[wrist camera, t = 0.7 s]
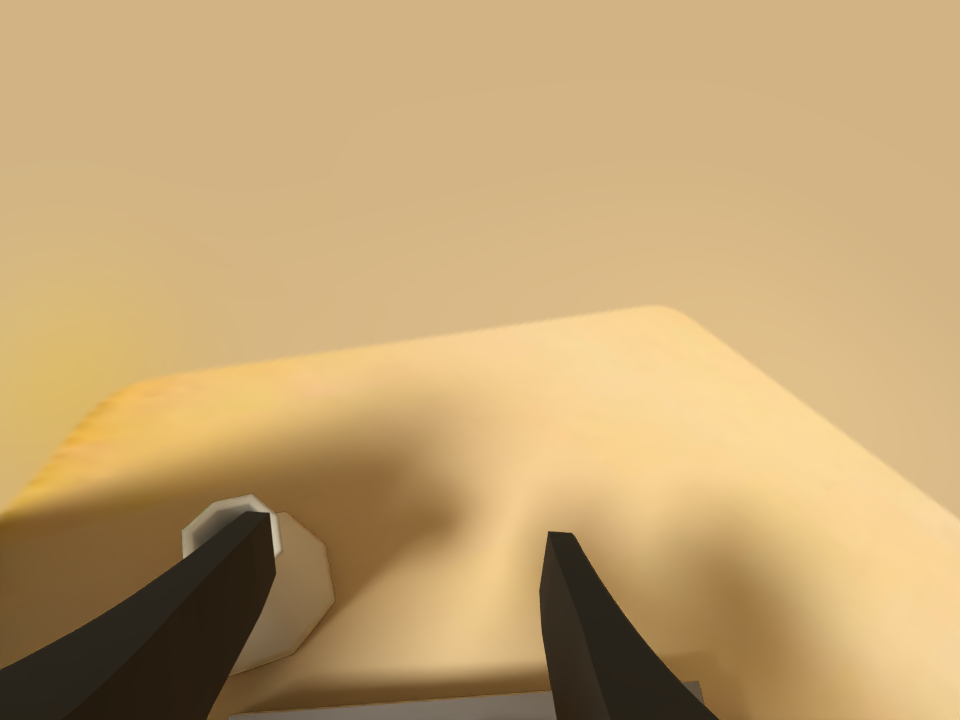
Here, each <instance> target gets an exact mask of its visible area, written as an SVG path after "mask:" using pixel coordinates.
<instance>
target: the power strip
mask: <svg viewBox="0 0 960 720" xmlns="http://www.w3.org/2000/svg"><path fill="white" fill-rule="evenodd" d="M681 683H682V684H683V685H684V686H685V687H686V688H687V689H688V690H689V691H690V692H691V693H692V694H693V695H694V696H695V697H696V698H697V699H698V700H699V701H700V702H701V703H702V704H703V705H704V701H703V697H702V692H701V688H700V684H699V681H683V682H681ZM704 706H705V705H704ZM228 720H557V718H556V713H555V707H554V701H553V695H552V690H548V691H534V692H520V693H506V694H493V695H479V696H465V697H452V698H438V699H424V700H411V701H397V702H383V703H370V704H356V705H342V706H329V707H315V708H301V709H288V710H274V711H260V712H246V713H236V714H233V715H230V716H228Z"/></svg>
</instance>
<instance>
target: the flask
mask: <svg viewBox="0 0 960 720" xmlns="http://www.w3.org/2000/svg"><path fill="white" fill-rule="evenodd" d="M245 511H254V512H269V513H270V519H271V529H272V538H273V547H274V556H275V566H276V576H275V579H274V582H273V584H272V587H271V590H270V592H269V595H268V598H267V600H266V603H265V605H264V608H263V610H262V613H261V615H260V617H259V619H258V621H257V623H256V625H255V626H254V628H253V630H252V632H251V634H250V636H249V638H248V640H247V642H246V644H245V646H244V648H243V649H242V651H241V653H240V655H239V657H238V659H237V661H236V663H235V664H234V666H233V668H232V670H231V672H230V674H229V676H228V677H230V676H233V675H236V674H238V673H241V672H244V671H247V670H250V669H253V668H256V667H258V666H261V665H264V664H267V663H270V662H273V661H276V660H279V659H281V658H284V657H287V656H290V655H293V654H294V653H295V651H296V650H297V649H298V648H299V646H300V645H301V644H302V643H303V641H304V640H305V639H306V638H307V636H308V635H309V634H310V632H311V631H312V630H313V629H314V627H315V626H316V625H317V624H318V622H319V621H320V620H321V619H322V617H323V616H324V615H325V614H326V612H327V611H328V610H329V608H330V607H331V606H332V605H333V603H334V602H335V596H334V590H333V584H332V579H331V573H330V568H329V562H328V556H327V551H326V545H325V544H324V543H323V542H321V541H320V540H319V539H318V538H317V537H315V536H314V535H313V534H312V533H311V532H309V531H308V530H307V529H306V528H305V527H303V526H302V525H301V524H300V523H299V522H297V521H296V520H295V519H294V518H293V517H291V516H290V515H289V514H288V513H287V512H281V513H275V512H274V511H273V510H272V509H270V508H269V507H268V506H267V505H266V504H264V503H263V502H262V501H261V500H260V499H258V498H257V497H256V496H255V495H254V494H247V495H243V496H238V497H234V498H229V499H225V500H220V501H216V502H213V503H212V504H211V505H209V506H208V507H207V508H206V509H205V510H204V511H203V512H202V513H201V514H200V515H199V516H197V517H196V518H195V519H194V520H193V521H192V522H191V523H190V524H189V525H188V526H187V527H185V528H184V529H183V530H182V550H183V559H184V558H186V557H187V556H188V555H190V554H191V553H192V552H194V551H195V550H196V549H198V548H199V547H200V546H201V545H203V544H204V543H205V542H207V541H208V540H209V539H211V538H212V537H213V536H214V535H216V534H217V533H218V532H219V531H221V530H222V529H223V528H225V527H226V526H227V525H228V524H230V523H231V522H232V521H234V520H235V519H236V518H237V517H239V516H240V515H241V514H243V513H244V512H245Z"/></svg>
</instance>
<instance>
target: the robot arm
mask: <svg viewBox="0 0 960 720" xmlns="http://www.w3.org/2000/svg"><path fill="white" fill-rule="evenodd" d="M275 576H276V566H275V556H274V547H273V538H272V529H271V519H270V513H269V512H254V511H245V512H244V513H243V514H241V515H240V516H239V517H237V518H236V519H235V520H234V521H232V522H231V523H230V524H228V525H227V526H226V527H225V528H223V529H222V530H221V531H219V532H218V533H217V534H216V535H214V536H213V537H212V538H211V539H209V540H208V541H207V542H205V543H204V544H203V545H201V546H200V547H199V548H198V549H196V550H195V551H194V552H192V553H191V554H190V555H188V556H187V557H186V558H184V559H183V560H182V561H180V562H179V563H178V564H176V565H175V566H174V567H172V568H171V569H169V570H168V571H167V572H165V573H164V574H162V575H161V576H159V577H158V578H157V579H155V580H154V581H152V582H151V583H149V584H148V585H147V586H145V587H144V588H142V589H141V590H139V591H138V592H137V593H135V594H134V595H132V596H131V597H129V598H128V599H126V600H125V601H123V602H122V603H120V604H118V605H117V606H115V607H114V608H112V609H111V610H109V611H107V612H106V613H104V614H102V615H101V616H99V617H97V618H96V619H94V620H92V621H91V622H89V623H87V624H86V625H84V626H82V627H81V628H79V629H77V630H75V631H74V632H72V633H70V634H68V635H66V636H64V637H62V638H61V639H59V640H57V641H55V642H53V643H51V644H49V645H48V646H46V647H44V648H42V649H40V650H38V651H36V652H35V653H33V654H31V655H29V656H27V657H25V658H23V659H21V660H19V661H17V662H15V663H13V664H11V665H9V666H7V667H5V668H3V669H1V670H0V720H206V719H207V716H208V714H209V712H210V710H211V708H212V706H213V704H214V702H215V700H216V698H217V697H218V695H219V693H220V691H221V689H222V687H223V685H224V683H225V681H226V680H227V678H228V676H229V674H230V672H231V670H232V668H233V666H234V664H235V663H236V661H237V659H238V657H239V655H240V653H241V651H242V649H243V648H244V646H245V644H246V642H247V640H248V638H249V636H250V634H251V632H252V630H253V628H254V626H255V625H256V623H257V621H258V619H259V617H260V615H261V613H262V610H263V608H264V605H265V603H266V600H267V598H268V595H269V592H270V590H271V587H272V584H273V582H274V579H275ZM539 594H540V612H541V627H542V636H543V642H544V648H545V654H546V660H547V666H548V672H549V678H550V683H551V689H552V695H553V701H554V707H555V713H556V718H557V720H719V719H718V718H717V717H716V716H715V715H714V714H713V713H712V712H711V711H710V710H709V709H708V708H707V707H706V706H704V705H703V704H702V703H701V702H700V701H699V700H698V699H697V698H696V697H695V696H694V695H693V694H692V693H691V692H690V691H689V690H688V689H687V688H686V687H685V686H684V685H683V684H682V683H681V682H680V681H679V680H678V678H677V677H676V676H675V675H674V674H673V673H672V672H671V671H670V670H669V669H668V668H667V667H666V665H665V664H664V663H663V662H662V661H661V660H660V659H659V657H658V656H657V655H656V654H655V653H654V652H653V650H652V649H651V648H650V647H649V646H648V644H647V643H646V642H645V641H644V639H643V638H642V637H641V636H640V634H639V633H638V632H637V631H636V629H635V628H634V627H633V625H632V624H631V623H630V621H629V620H628V619H627V617H626V616H625V615H624V613H623V612H622V611H621V609H620V608H619V606H618V605H617V604H616V602H615V601H614V599H613V598H612V596H611V595H610V593H609V592H608V590H607V589H606V587H605V586H604V584H603V583H602V581H601V580H600V578H599V577H598V575H597V573H596V572H595V570H594V568H593V567H592V565H591V564H590V562H589V560H588V559H587V557H586V555H585V553H584V552H583V550H582V548H581V546H580V545H579V543H578V541H577V539H576V537H575V536H574V535H573V534H572V533H565V532H550V531H548V537H547V543H546V550H545V557H544V563H543V570H542V577H541V583H540V590H539Z"/></svg>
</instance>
